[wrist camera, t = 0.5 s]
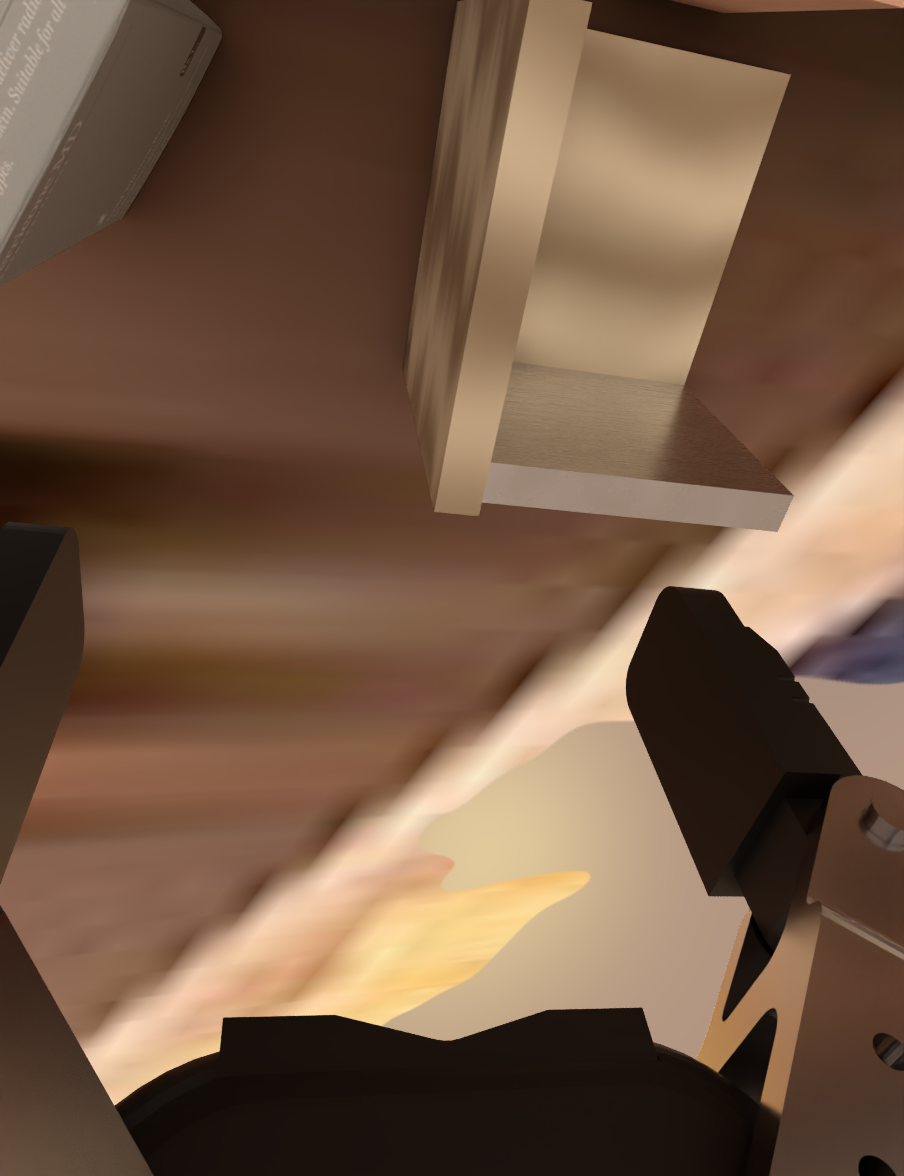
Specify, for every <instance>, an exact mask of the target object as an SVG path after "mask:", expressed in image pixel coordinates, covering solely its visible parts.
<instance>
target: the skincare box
mask: <svg viewBox="0 0 904 1176" xmlns="http://www.w3.org/2000/svg"><path fill="white" fill-rule="evenodd" d="M221 39H222V31H221V29H220V28H219V27H218V26H217V25H216V24H215V23H214V22H213V21H212V20H211V19H210V18H209V17H208V16H207V15H206V14H205V13H204V12H203V11H201V10H200V9H199V8H198V7H197V6H196V5H195V4H194V3H192V2H191V1H190V0H0V286H1V285H2V284H4V283H6V282H8V281H10V280H11V279H13V278H15V277H17V276H18V275H20V274H22V273H24V272H26V271H28V270H29V269H31V268H33V267H35V266H37V265H39V264H40V263H42V262H44V261H46V260H48V259H49V258H51V257H53V256H55V255H57V254H59V253H60V252H62V251H64V250H66V249H67V248H69V247H71V246H73V245H75V244H77V243H78V242H80V241H82V240H84V239H86V238H87V237H89V236H91V235H93V234H95V233H97V232H99V231H100V230H102V229H104V228H106V227H108V226H110V225H111V224H113V223H115V222H118V221H119V220H121V219H122V218H123V217H124V215H125V214H126V212H127V210H128V209H129V207H130V206H131V204H132V202H133V201H134V199H135V198H136V196H137V194H138V193H139V191H140V189H141V188H142V186H143V184H144V183H145V181H146V180H147V178H148V176H149V174H150V173H151V171H152V169H153V167H154V166H155V164H156V162H157V161H158V159H159V157H160V155H161V154H162V152H163V150H164V149H165V147H166V145H167V143H168V142H169V140H170V138H171V136H172V135H173V133H174V131H175V129H176V128H177V126H178V124H179V122H180V120H181V118H182V117H183V115H184V113H185V111H186V109H187V107H188V105H189V104H190V102H191V100H192V98H193V96H194V94H195V92H196V90H197V88H198V86H199V84H200V82H201V80H202V78H203V76H204V74H205V72H206V70H207V68H208V66H209V64H210V62H211V60H212V58H213V56H214V54H215V52H216V49H217V47H218V45H219V43H220V41H221Z"/></svg>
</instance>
